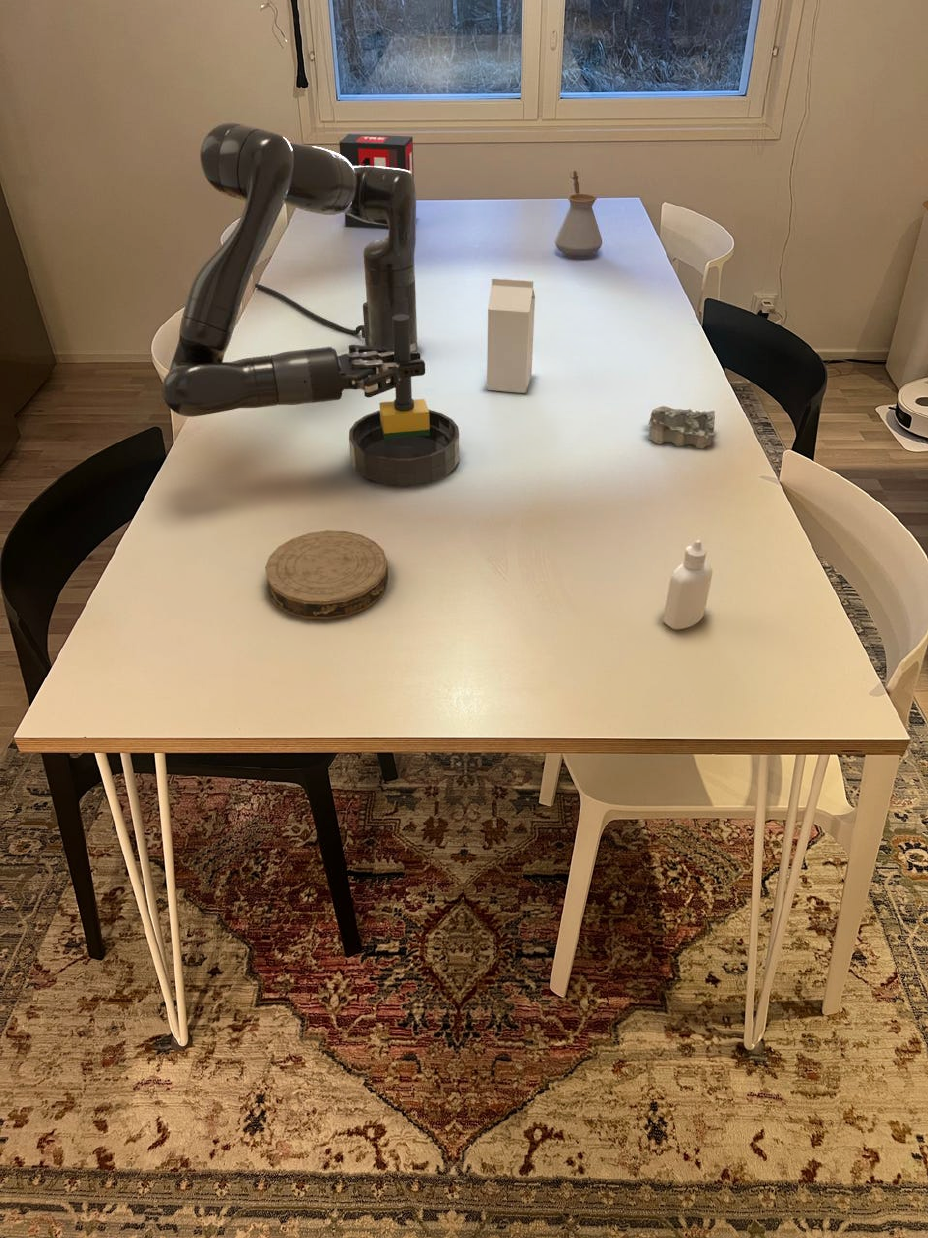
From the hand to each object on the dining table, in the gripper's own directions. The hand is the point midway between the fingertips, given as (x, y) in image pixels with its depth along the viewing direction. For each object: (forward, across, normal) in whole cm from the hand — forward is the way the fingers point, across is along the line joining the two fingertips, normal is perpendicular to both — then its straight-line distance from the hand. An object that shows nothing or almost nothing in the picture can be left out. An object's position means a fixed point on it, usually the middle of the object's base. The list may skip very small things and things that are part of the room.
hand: (421, 362), depth 140 cm
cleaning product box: (+19, +124, +18) cm, 127 cm away
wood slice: (-20, -28, +17) cm, 38 cm away
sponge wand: (-3, 0, +11) cm, 11 cm away
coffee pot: (+61, +92, +18) cm, 112 cm away
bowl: (-3, +1, +17) cm, 17 cm away
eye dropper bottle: (+22, -47, +17) cm, 55 cm away
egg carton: (+43, -3, +17) cm, 46 cm away
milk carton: (+22, +23, +17) cm, 36 cm away
